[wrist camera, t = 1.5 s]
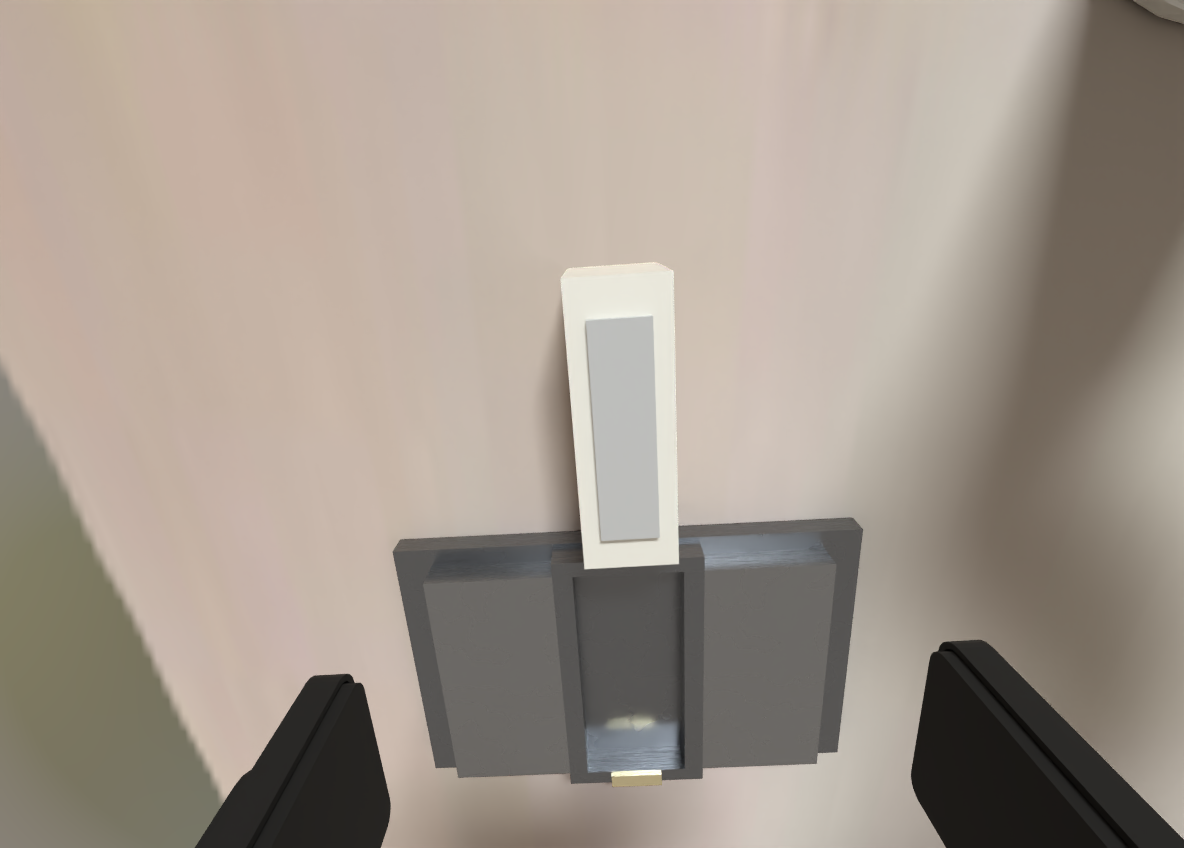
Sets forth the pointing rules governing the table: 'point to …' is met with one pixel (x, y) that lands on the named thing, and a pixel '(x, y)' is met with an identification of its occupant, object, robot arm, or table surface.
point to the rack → (632, 651)
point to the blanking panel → (623, 411)
